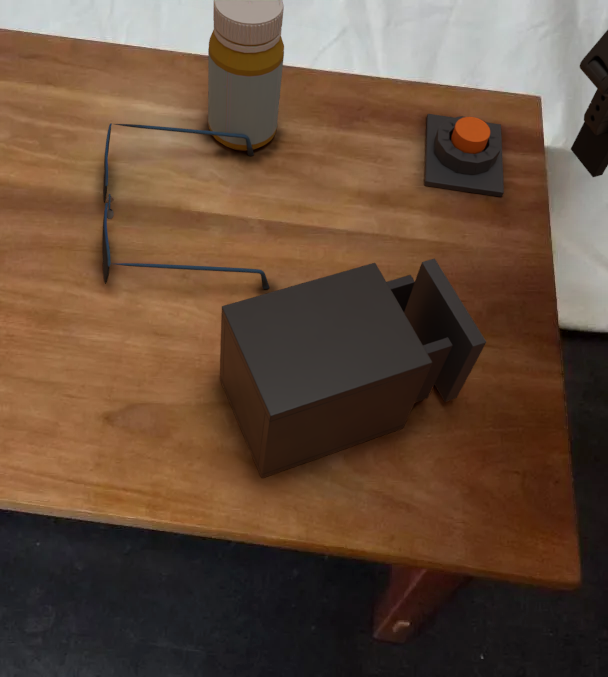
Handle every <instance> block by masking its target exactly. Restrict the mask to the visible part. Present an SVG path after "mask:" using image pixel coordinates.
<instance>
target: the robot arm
mask: <svg viewBox="0 0 608 677" xmlns="http://www.w3.org/2000/svg"><path fill="white" fill-rule="evenodd" d="M579 69H580V70H581V72H583V74H584V75H585V76H586V77H587V78H588V80H589V81H590V82H591V83H592V85H593V86H594V87H595V88H596V90H595V92H594V94H593V96H592V98H591V100H590V103H589V105H588V106H587V108H586V111H584V114H583V123H582V125H581V127H580V129H579V131H578V133H577V135H576V137H575V139H574V141H573V142H572V146H571V147H570V150H571V152H572V153H573V154H574V155H575V157H576V158H577V159H578V161H579V162H580V163H581V164H582V166H583V167H584V168H585V170H586V171H587V173H588V174H590V176H591V177H592V178H596V177H600V176H603V174H604V173H605V171H606V170H607V168H608V29H607V30H606V31H605V32H604V33H603V34H602V36H601V37H600V38H599V39H598V40H597V41H596V43H594V45H593V47H591V49H590V50H589V51H588V53H586V55H585V56H584V57H583V58H582V60H581V61H580V63H579Z"/></svg>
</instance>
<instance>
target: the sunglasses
mask: <svg viewBox="0 0 608 677" xmlns="http://www.w3.org/2000/svg"><path fill="white" fill-rule="evenodd" d="M112 125H113V123H109V125H108V129H107V134H106V139H105V147H104V158H103V184H102V199H103V204H104V212H103V218H102V231H101V232H102V237H101V248H102V249H101V250H102V252H101V253H102V254H101V255H102V256H101V257H102V274H103V275H102V276H103V277H102V278H103V282H104V284H105V285H106V284H107V283H108V280H109V274H110V267H111V265H112V262H111V260H112V259H111V250H110V243H109V242H110V241H109V235H108V234H109V233H108V220H112V219H113V218H114V216H115V213H114V211H113V210H114V209H112V208H111V204H112V203H113V202H114V200H115V198H114V197H113V196H111V193H108V186H109V160H108V159H109V150H110V148H109V147H110V141H111V134H112ZM114 125H116V126H120V127H121V126H122V127H129V128H135V129H143V130H144V129H145V130H155V131H164V132H176V133H184V134H186V133H187V134H194V135H195V134H197V135H207V136H213V135H216V136H227V137H237V138H244V139H246V144H247V150H246V152H247V156H249V157H253V156H254V155H255V153H254V150H253V149H252V145H251V142H250V139H249V137H248V136H247V135H243V134H235V133H225V132H215V131H210V130H205V129H204V130H203V129H193V128H181V127H173V126H172V127H171V126H159V125H147V124H133V123H132V124H130V123H114ZM107 193H108V197H107ZM114 265H117V266H126V267H136V268H137V267H138V268H152V269H170V270H189V271H207V272H225V273H226V272H229V273H249V274H259V275H260V279H261V280H260V281H261V287H262V289H263V290H269V289H270V285H269V282H268V278H267V275H266V273H265V271H264V270H262V269H259V268H246V267H230V266H229V267H227V266H212V265H211V266H207V265H191V264H190V265H187V264H165V263H143V262H142V263H141V262H140V263H139V262H119V263H117V262H115V263H114Z"/></svg>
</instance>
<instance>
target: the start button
mask: <svg viewBox="0 0 608 677" xmlns="http://www.w3.org/2000/svg"><path fill="white" fill-rule="evenodd" d="M485 122H486V121H484V120H482V119H480V118H478V117H475V116H464V118H461V119H459V120H458V121H457V122H456V124H455V127H454V130H453V133H452V136H451V141H452V144H453V146H454V147H455V148H457V149H459V150H460V151H462V152H464V153H470V154H477V153H480V152H482V151H483V150H484V149H485V146H486V144H487V141H488V139H489V136H490V128H489V126H488V125H487V124H486V123H485Z"/></svg>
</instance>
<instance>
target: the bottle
mask: <svg viewBox="0 0 608 677" xmlns="http://www.w3.org/2000/svg"><path fill="white" fill-rule="evenodd" d="M284 7H285V5H284V0H213V14H212V15H213V18H212V19H213V29H212V32H211V35H210V37H209V39H208V51H207V52H208V55H207V57H208V58H207V60H208V62H207V68H208V70H207V71H208V72H207V84H208V85H207V122H208V124H207V125H208V129H209V131H215V132H225V133H235V134H243V135H247V136H248V137H249V139H250V142H251V145H252V149H253V151H254V150H257V149H259V148H261V147H263V146H266V145H267V144H268V143H270V142H271V141H272V140H273V139H274V136H275V135H276V133H277V127H278V119H279V108H280V97H281V87H282V79H283V66H284V56H285V44H284V41H283V38H282V27H283V20H284ZM212 137H213V138H214V139H215V140H216V141H217V142H218V143H221V144H222V145H223V146H225V147H226V148H229V149H232V150H235V151H241V152H242V151H245V152H247V144H246V139H244V138H237V137H227V136H216V135H212Z"/></svg>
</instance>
